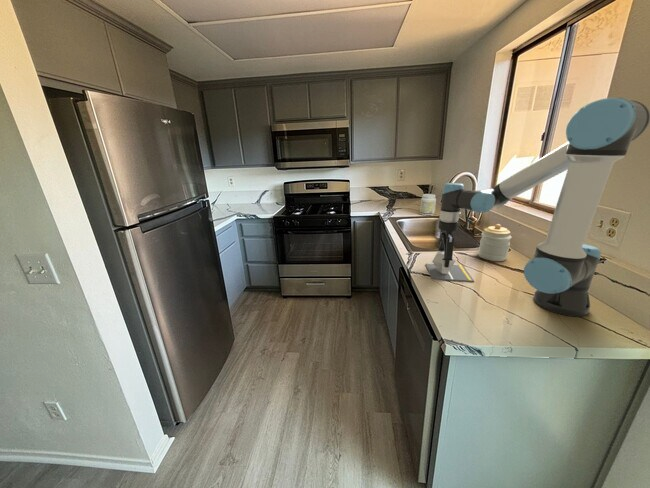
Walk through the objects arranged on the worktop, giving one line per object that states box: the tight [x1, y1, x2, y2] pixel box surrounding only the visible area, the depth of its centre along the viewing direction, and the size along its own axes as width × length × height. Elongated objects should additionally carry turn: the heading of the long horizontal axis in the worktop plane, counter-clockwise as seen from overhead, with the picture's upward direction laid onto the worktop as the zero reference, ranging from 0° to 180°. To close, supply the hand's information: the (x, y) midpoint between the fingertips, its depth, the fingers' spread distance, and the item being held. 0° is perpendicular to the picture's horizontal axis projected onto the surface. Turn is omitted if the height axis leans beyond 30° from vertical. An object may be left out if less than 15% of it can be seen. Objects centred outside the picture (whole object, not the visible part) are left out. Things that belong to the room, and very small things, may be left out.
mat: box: [425, 263, 475, 283], centre depth 122 cm, size 16×17×1 cm
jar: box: [477, 223, 513, 262], centre depth 135 cm, size 13×13×18 cm
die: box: [431, 251, 456, 271], centre depth 119 cm, size 8×9×10 cm
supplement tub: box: [419, 193, 437, 216], centre depth 226 cm, size 12×12×17 cm
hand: (442, 268), depth 121 cm, fingers closed on die, 9 cm apart
